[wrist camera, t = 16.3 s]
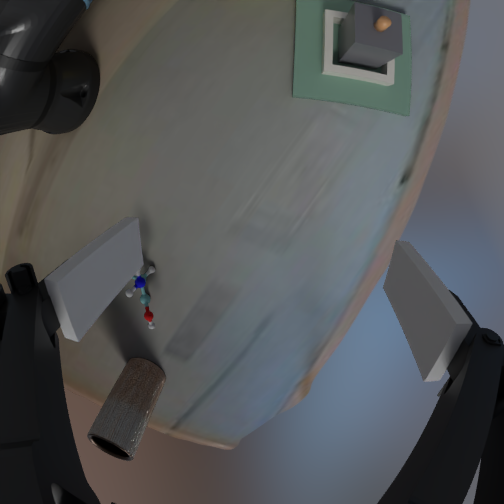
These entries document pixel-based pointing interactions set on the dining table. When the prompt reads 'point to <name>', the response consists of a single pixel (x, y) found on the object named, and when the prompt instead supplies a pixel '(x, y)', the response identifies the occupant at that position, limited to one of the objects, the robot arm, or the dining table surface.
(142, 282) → the molecular model
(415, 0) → the dining table surface
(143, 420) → the planter
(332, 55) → the board
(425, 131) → the dining table surface
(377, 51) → the plug
